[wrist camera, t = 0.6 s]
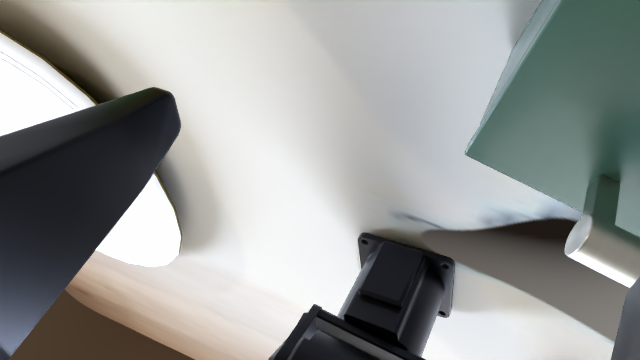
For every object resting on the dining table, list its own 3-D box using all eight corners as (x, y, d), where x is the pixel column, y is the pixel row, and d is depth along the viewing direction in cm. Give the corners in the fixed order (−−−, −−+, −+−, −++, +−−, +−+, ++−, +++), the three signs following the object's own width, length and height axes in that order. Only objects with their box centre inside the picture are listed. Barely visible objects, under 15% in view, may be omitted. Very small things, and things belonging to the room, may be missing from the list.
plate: (-113, -81, 35) (-140, -71, 34) (226, 168, 36) (211, 186, 35) (-39, 138, 58) (-54, 148, 57) (166, 285, 60) (156, 297, 59)
